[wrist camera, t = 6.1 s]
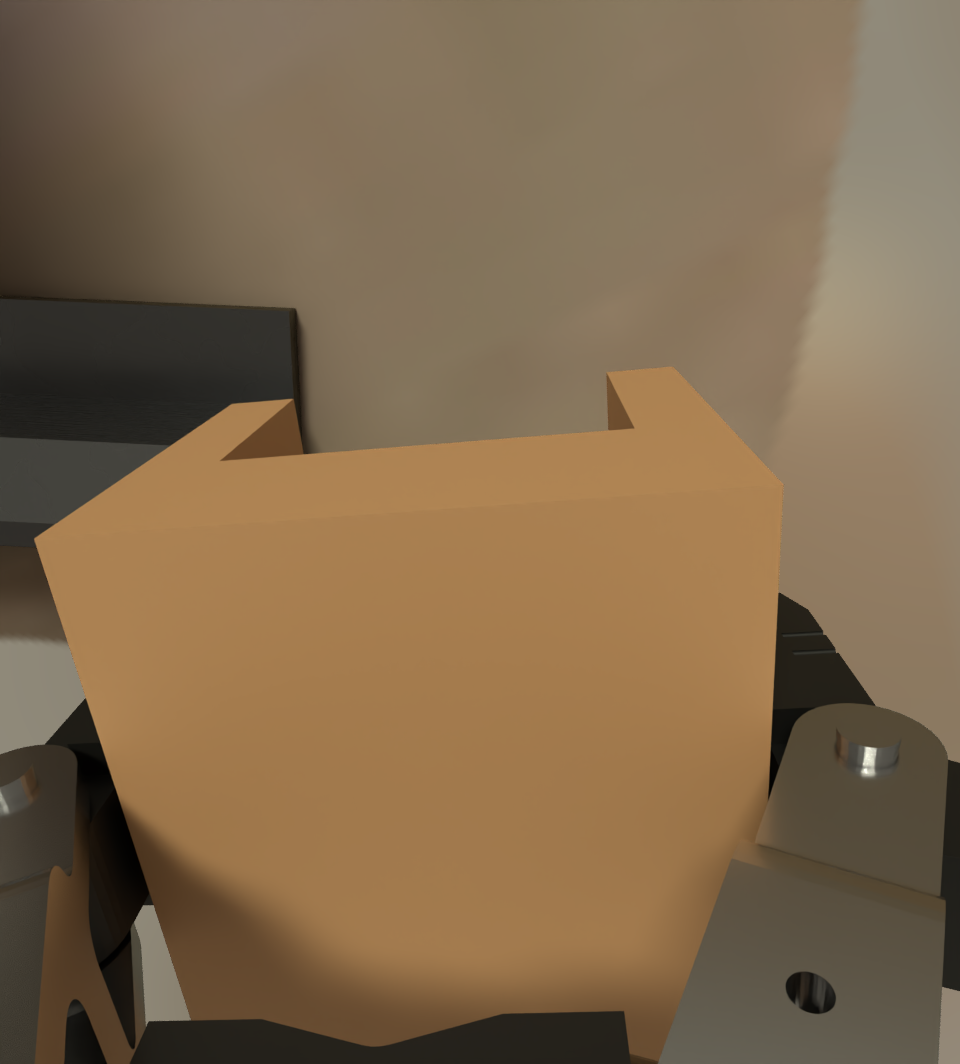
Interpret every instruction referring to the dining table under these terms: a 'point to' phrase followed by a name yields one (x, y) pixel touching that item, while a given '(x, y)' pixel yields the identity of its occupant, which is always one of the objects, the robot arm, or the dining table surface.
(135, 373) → the rail
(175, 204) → the dining table surface
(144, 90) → the dining table surface
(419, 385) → the dining table surface
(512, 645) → the block
